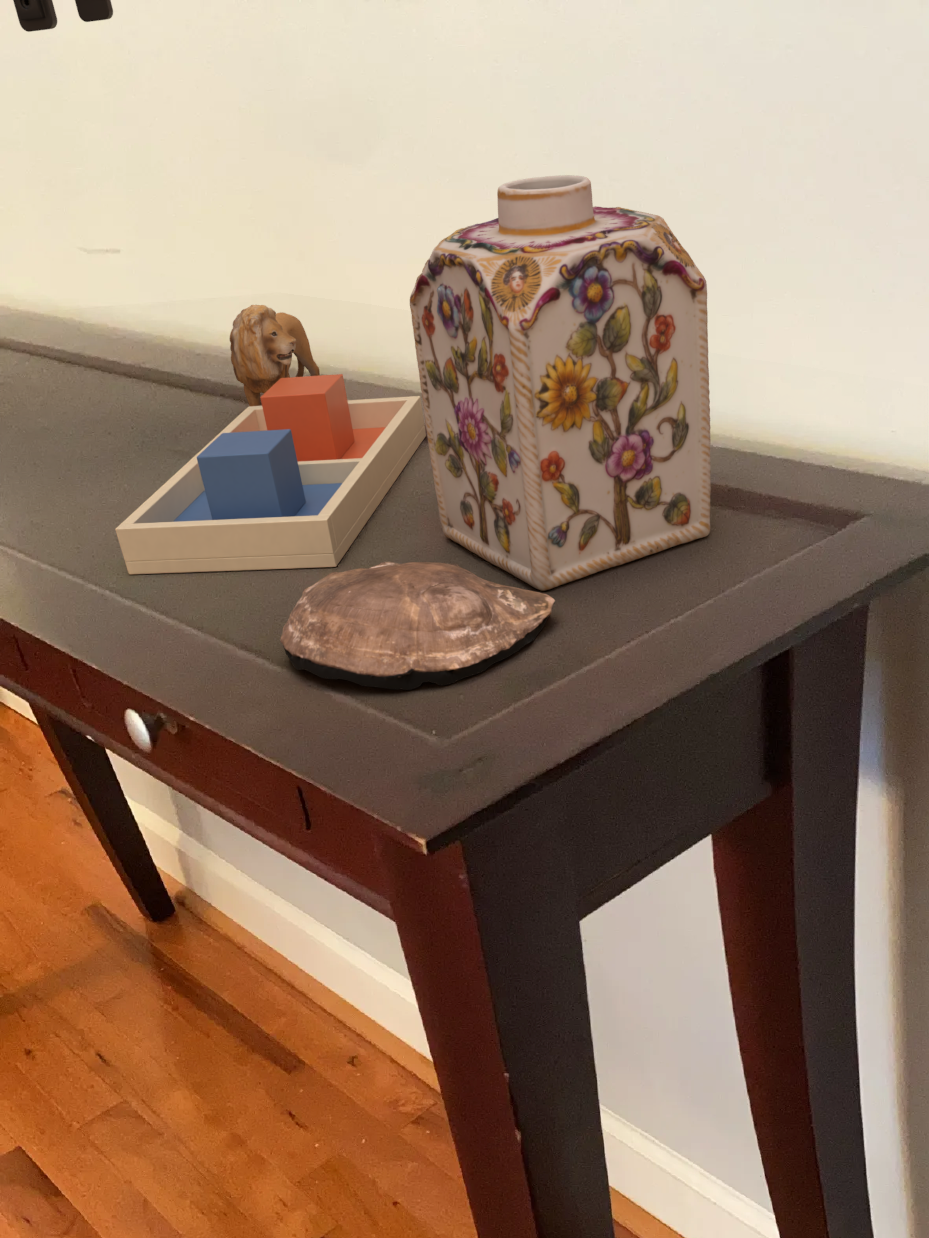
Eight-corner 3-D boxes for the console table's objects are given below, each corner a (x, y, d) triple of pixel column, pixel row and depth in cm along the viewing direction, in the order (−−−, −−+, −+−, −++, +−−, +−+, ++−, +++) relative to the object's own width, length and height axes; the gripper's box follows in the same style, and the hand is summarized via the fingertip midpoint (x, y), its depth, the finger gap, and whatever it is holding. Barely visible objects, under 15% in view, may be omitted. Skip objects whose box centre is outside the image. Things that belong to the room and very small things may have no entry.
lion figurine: (313, 439, 94) (287, 307, 89) (242, 447, 94) (211, 316, 89) (328, 385, 106) (306, 266, 100) (265, 393, 106) (240, 274, 101)
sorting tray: (128, 574, 76) (114, 528, 74) (257, 445, 94) (248, 406, 93) (336, 567, 74) (326, 519, 72) (426, 435, 92) (420, 395, 90)
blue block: (214, 531, 77) (195, 456, 75) (239, 505, 81) (221, 432, 78) (284, 528, 77) (268, 452, 74) (306, 501, 80) (291, 428, 77)
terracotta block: (274, 465, 87) (259, 397, 84) (294, 444, 90) (280, 377, 87) (337, 462, 86) (324, 392, 83) (355, 441, 89) (343, 373, 87)
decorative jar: (437, 538, 76) (386, 192, 65) (601, 487, 80) (579, 154, 69) (540, 598, 67) (502, 212, 56) (718, 538, 71) (715, 167, 60)
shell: (436, 717, 58) (424, 644, 56) (237, 667, 64) (219, 600, 62) (572, 615, 65) (566, 547, 63) (382, 580, 71) (370, 516, 69)
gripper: (-19, -296, 79) (65, 24, 88) (-150, -330, 68) (-37, 40, 77) (92, -316, 77) (165, 12, 87) (-22, -354, 66) (76, 26, 76)
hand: (70, 25), depth 82 cm, fingers open, 8 cm apart
